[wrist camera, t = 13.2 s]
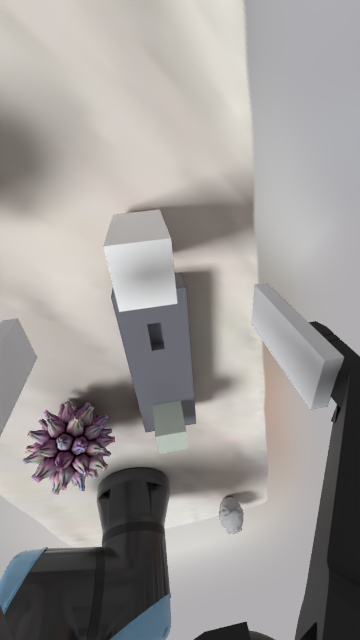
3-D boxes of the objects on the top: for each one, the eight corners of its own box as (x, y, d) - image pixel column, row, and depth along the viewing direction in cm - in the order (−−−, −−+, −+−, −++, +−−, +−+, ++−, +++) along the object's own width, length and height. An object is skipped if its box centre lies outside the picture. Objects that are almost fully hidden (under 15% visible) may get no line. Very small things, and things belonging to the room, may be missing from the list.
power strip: (194, 437, 51) (199, 462, 47) (152, 444, 50) (154, 470, 46) (180, 272, 32) (187, 290, 28) (113, 281, 31) (110, 301, 27)
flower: (96, 439, 47) (86, 517, 37) (26, 419, 42) (-8, 504, 32) (131, 399, 43) (130, 475, 33) (57, 372, 38) (30, 453, 28)
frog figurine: (213, 506, 69) (221, 539, 63) (217, 493, 65) (225, 527, 59) (236, 503, 70) (245, 535, 64) (240, 490, 66) (251, 523, 60)
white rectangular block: (164, 255, 30) (177, 303, 21) (124, 260, 30) (119, 311, 21) (158, 206, 27) (171, 238, 18) (114, 212, 27) (103, 246, 18)
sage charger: (182, 417, 41) (188, 448, 36) (156, 422, 40) (159, 453, 36) (180, 400, 38) (186, 431, 34) (153, 405, 38) (155, 436, 34)
